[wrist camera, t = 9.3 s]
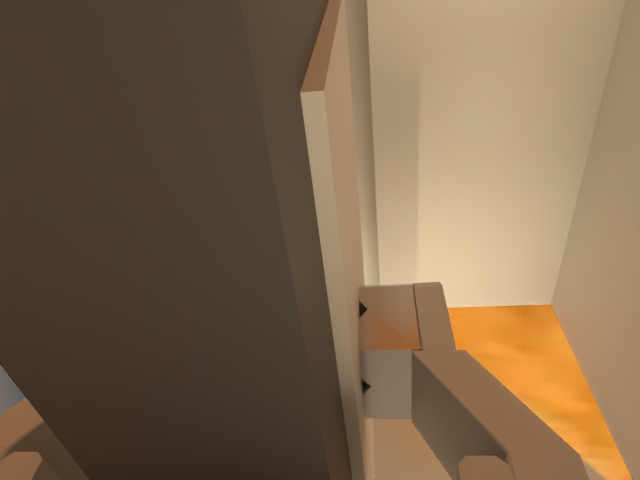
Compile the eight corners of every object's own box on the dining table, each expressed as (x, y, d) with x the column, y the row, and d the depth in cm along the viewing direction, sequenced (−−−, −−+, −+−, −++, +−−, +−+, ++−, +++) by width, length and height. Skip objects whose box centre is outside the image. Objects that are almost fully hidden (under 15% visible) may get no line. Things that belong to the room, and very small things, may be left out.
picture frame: (177, -114, 8) (-437, -147, 2) (338, -137, 8) (245, -272, 2) (290, 382, 16) (246, 692, 10) (373, 381, 16) (381, 702, 10)
